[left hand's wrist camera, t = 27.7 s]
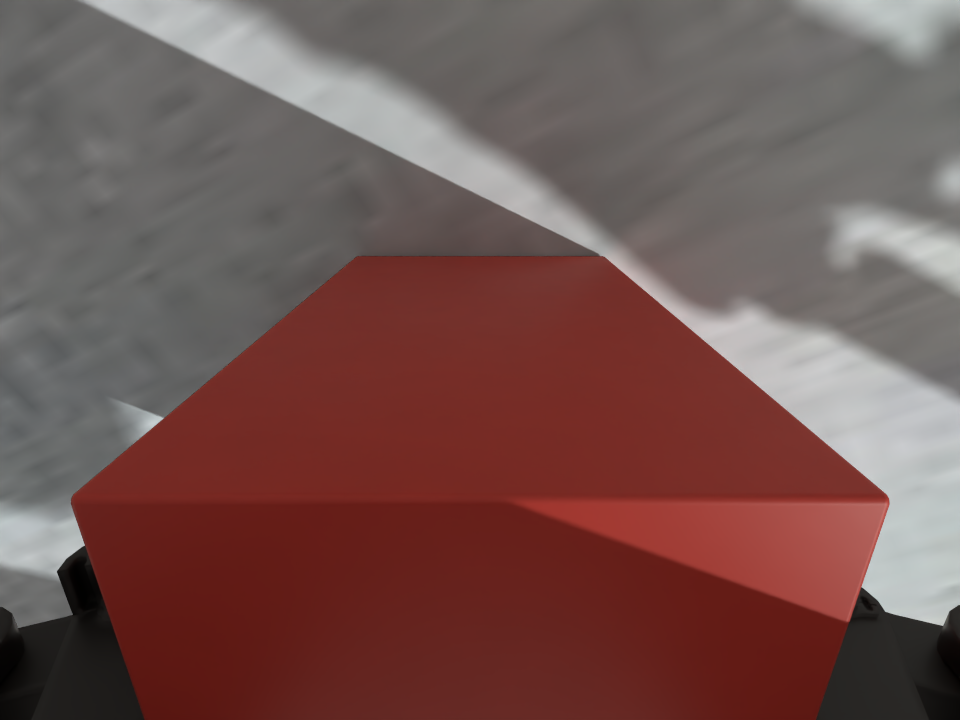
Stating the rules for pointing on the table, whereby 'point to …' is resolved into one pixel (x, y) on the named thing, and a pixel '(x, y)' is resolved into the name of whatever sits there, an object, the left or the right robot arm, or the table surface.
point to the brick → (480, 514)
